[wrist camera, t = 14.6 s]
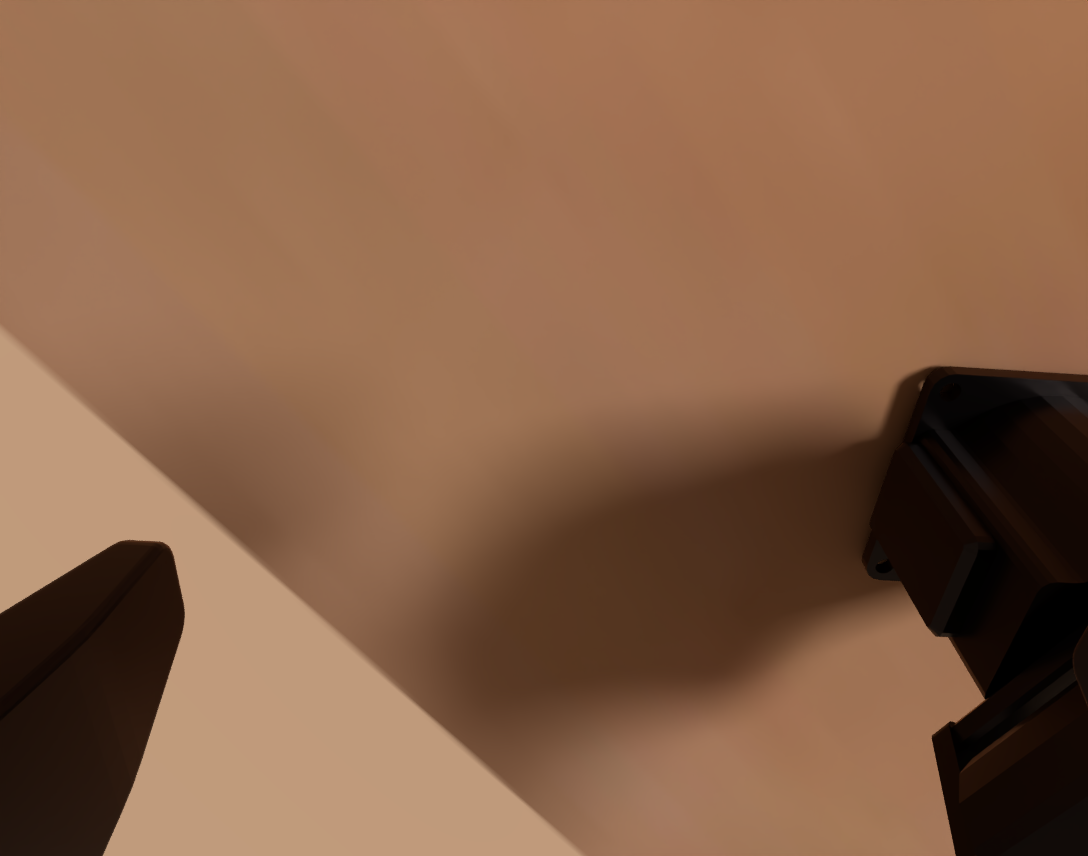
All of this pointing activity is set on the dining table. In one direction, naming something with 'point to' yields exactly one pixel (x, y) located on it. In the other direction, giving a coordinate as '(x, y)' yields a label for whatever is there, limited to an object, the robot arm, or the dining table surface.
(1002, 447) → the robot arm
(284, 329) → the dining table surface
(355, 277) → the dining table surface
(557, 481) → the dining table surface
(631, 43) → the dining table surface
